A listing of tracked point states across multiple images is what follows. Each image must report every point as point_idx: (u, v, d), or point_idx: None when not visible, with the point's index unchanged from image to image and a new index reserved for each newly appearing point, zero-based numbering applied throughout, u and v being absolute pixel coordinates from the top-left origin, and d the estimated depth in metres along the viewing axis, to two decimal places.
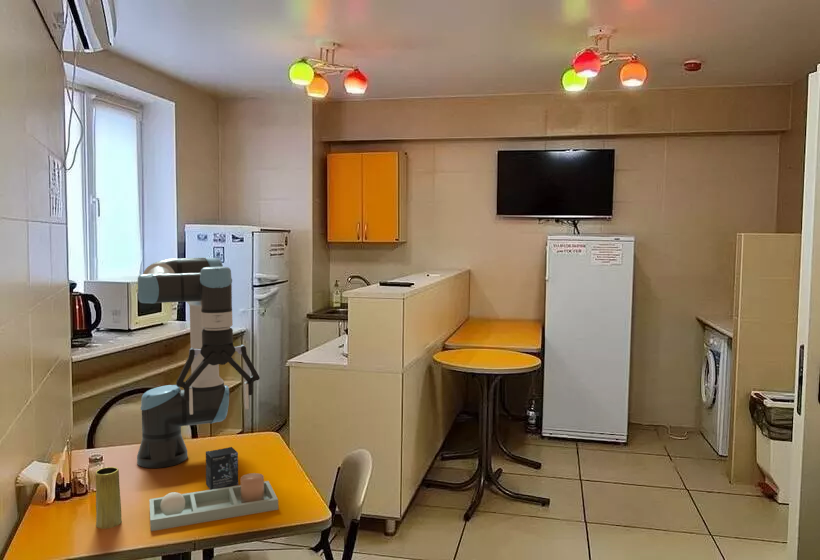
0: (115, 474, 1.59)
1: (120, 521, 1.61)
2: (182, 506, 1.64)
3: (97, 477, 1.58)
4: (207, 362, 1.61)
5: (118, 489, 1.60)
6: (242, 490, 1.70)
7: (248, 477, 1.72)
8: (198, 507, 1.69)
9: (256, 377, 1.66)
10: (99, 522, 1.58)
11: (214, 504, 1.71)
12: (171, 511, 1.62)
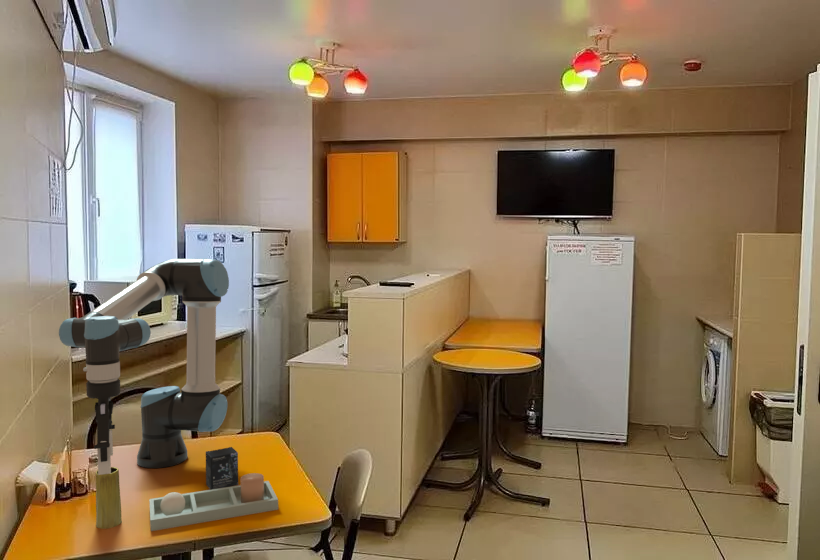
0: (115, 474, 1.59)
1: (120, 521, 1.61)
2: (182, 506, 1.64)
3: (97, 477, 1.58)
4: None
5: (118, 489, 1.60)
6: (242, 490, 1.70)
7: (248, 477, 1.72)
8: (198, 507, 1.69)
9: None
10: (99, 522, 1.58)
11: (214, 504, 1.71)
12: (171, 511, 1.62)
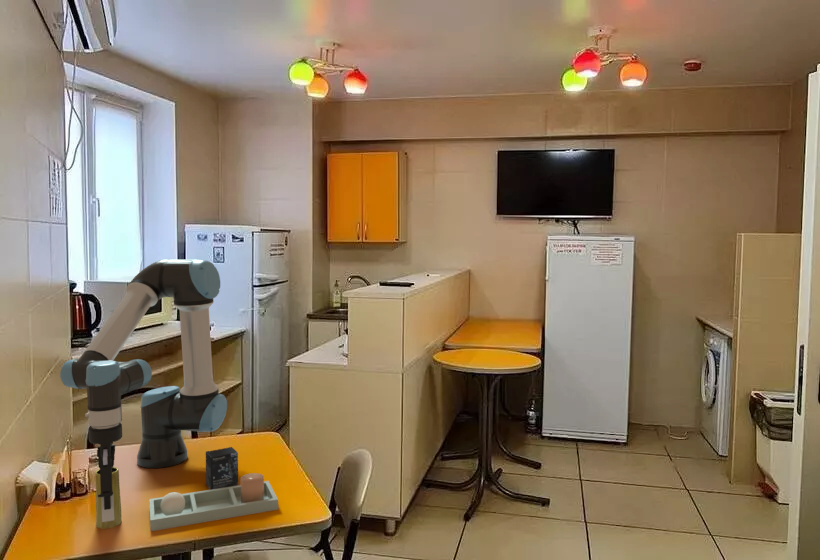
0: (115, 474, 1.59)
1: (120, 521, 1.61)
2: (182, 506, 1.64)
3: (97, 477, 1.58)
4: None
5: (118, 489, 1.60)
6: (242, 490, 1.70)
7: (248, 477, 1.72)
8: (198, 507, 1.69)
9: None
10: (99, 522, 1.58)
11: (214, 504, 1.71)
12: (171, 511, 1.62)
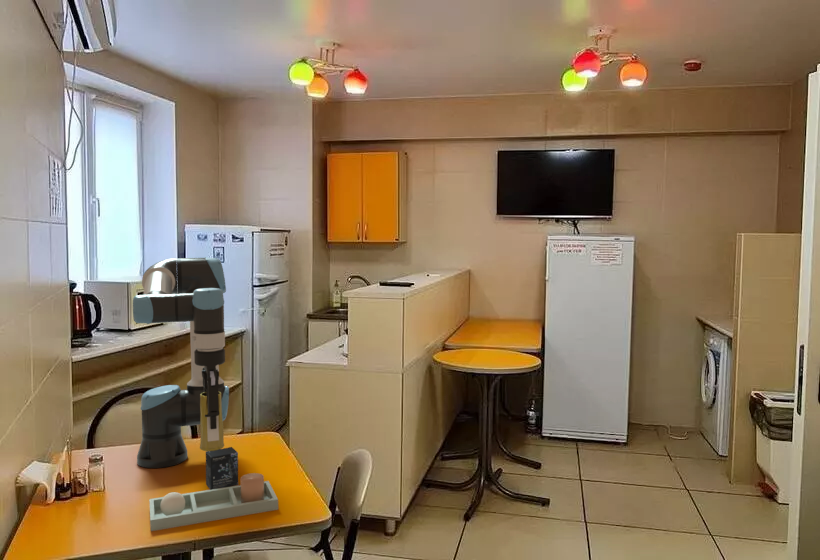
0: (219, 396, 1.65)
1: (222, 442, 1.67)
2: (182, 506, 1.64)
3: (202, 399, 1.64)
4: (202, 380, 1.67)
5: (221, 411, 1.67)
6: (242, 490, 1.70)
7: (248, 477, 1.72)
8: (198, 507, 1.69)
9: (208, 412, 1.61)
10: (204, 442, 1.65)
11: (214, 504, 1.71)
12: (171, 511, 1.62)
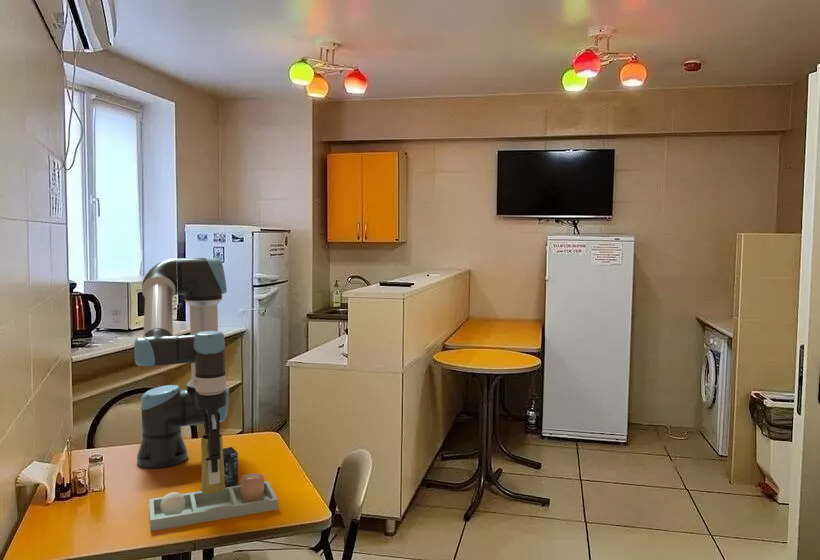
0: (220, 439, 1.66)
1: (224, 484, 1.68)
2: (182, 506, 1.64)
3: (203, 442, 1.65)
4: (204, 423, 1.68)
5: (222, 454, 1.68)
6: (242, 490, 1.70)
7: (248, 477, 1.72)
8: (198, 507, 1.69)
9: (209, 456, 1.61)
10: (205, 485, 1.65)
11: (214, 504, 1.71)
12: (171, 511, 1.62)
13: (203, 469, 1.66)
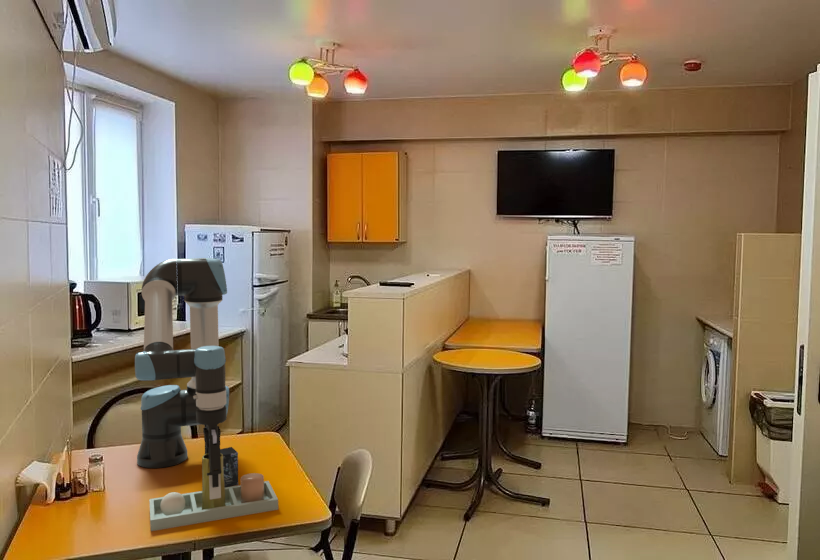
0: (221, 459, 1.67)
1: (224, 504, 1.69)
2: (182, 506, 1.64)
3: (204, 462, 1.66)
4: (204, 437, 1.68)
5: (223, 473, 1.68)
6: (242, 490, 1.70)
7: (248, 477, 1.72)
8: (198, 507, 1.69)
9: (210, 471, 1.61)
10: (206, 505, 1.66)
11: None
12: (171, 511, 1.62)
13: (204, 489, 1.66)
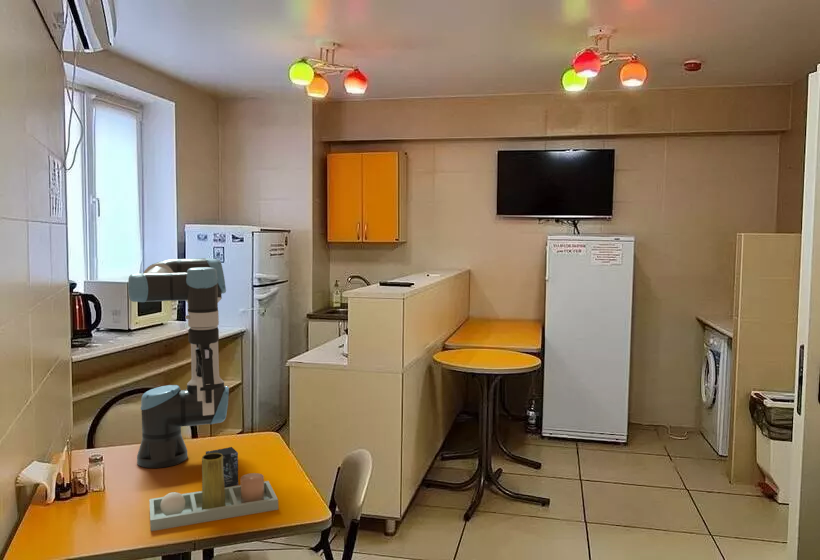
0: (221, 459, 1.67)
1: (224, 504, 1.69)
2: (182, 506, 1.64)
3: (204, 462, 1.65)
4: (196, 357, 1.69)
5: (222, 474, 1.68)
6: (242, 490, 1.70)
7: (248, 477, 1.72)
8: (198, 507, 1.69)
9: None
10: (206, 505, 1.66)
11: None
12: (171, 511, 1.62)
13: (204, 489, 1.66)
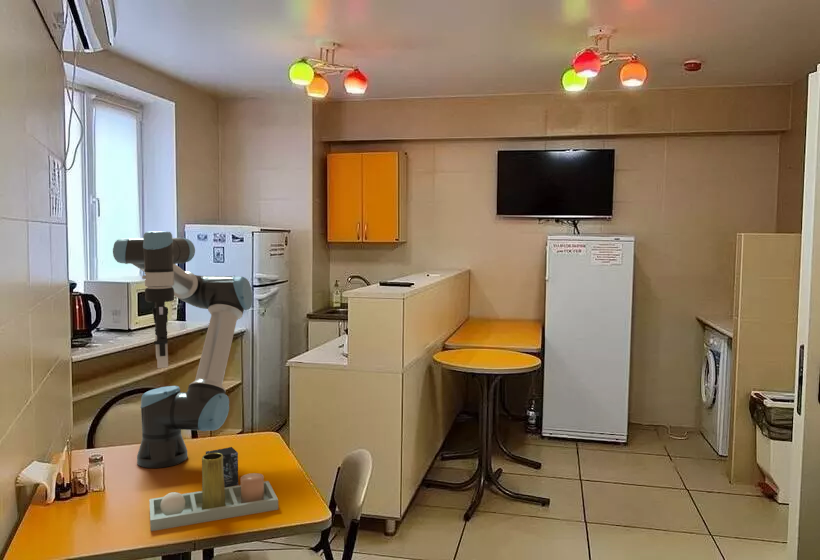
0: (221, 459, 1.67)
1: (224, 504, 1.69)
2: (182, 506, 1.64)
3: (204, 462, 1.65)
4: None
5: (222, 474, 1.68)
6: (242, 490, 1.70)
7: (248, 477, 1.72)
8: (198, 507, 1.69)
9: (157, 340, 1.70)
10: (206, 505, 1.66)
11: None
12: (171, 511, 1.62)
13: (204, 489, 1.66)
